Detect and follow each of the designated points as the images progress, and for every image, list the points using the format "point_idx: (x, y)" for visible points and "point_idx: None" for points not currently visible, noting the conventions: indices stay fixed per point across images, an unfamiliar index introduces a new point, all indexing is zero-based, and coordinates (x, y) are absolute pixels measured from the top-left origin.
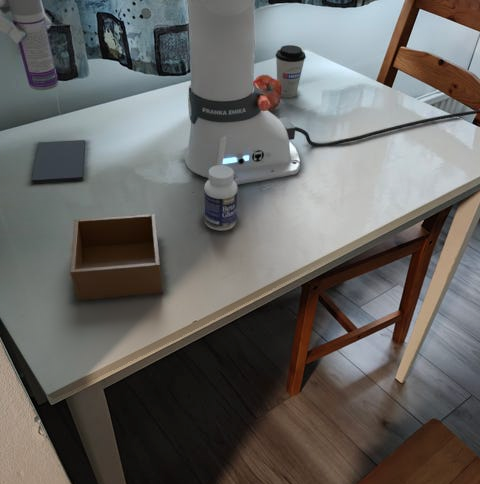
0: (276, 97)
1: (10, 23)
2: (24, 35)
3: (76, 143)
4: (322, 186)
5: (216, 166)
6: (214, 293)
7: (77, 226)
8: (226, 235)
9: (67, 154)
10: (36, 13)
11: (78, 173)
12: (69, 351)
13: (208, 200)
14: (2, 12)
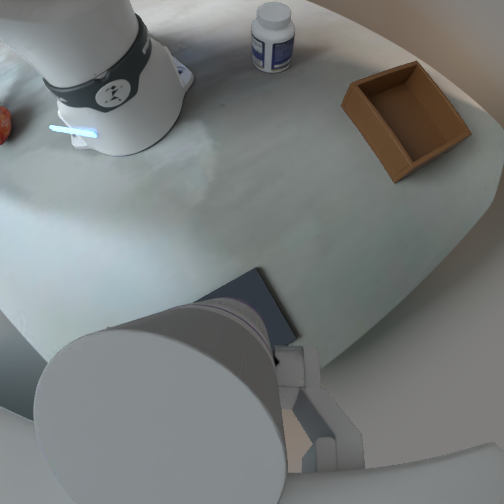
0: (3, 106)
1: (318, 400)
2: (288, 346)
3: None
4: (161, 12)
5: (265, 17)
6: (376, 44)
7: (420, 158)
8: None
9: None
10: (214, 311)
11: (248, 279)
12: (486, 133)
13: (292, 40)
14: (318, 450)
